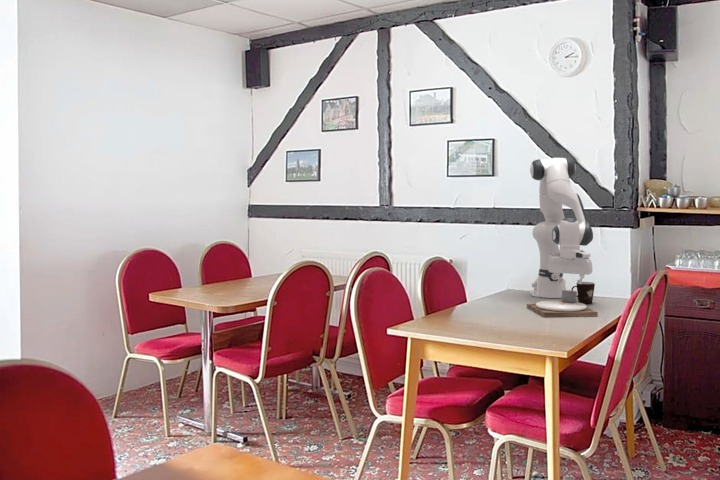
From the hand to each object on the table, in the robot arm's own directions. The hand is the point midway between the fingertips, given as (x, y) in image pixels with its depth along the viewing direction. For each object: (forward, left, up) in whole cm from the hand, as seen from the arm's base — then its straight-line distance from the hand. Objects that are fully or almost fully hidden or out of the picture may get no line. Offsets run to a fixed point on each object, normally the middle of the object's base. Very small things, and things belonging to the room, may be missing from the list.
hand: (569, 283), depth 325 cm
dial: (+5, -6, -10) cm, 13 cm away
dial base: (+6, -6, -12) cm, 15 cm away
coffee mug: (-17, +13, -13) cm, 25 cm away
